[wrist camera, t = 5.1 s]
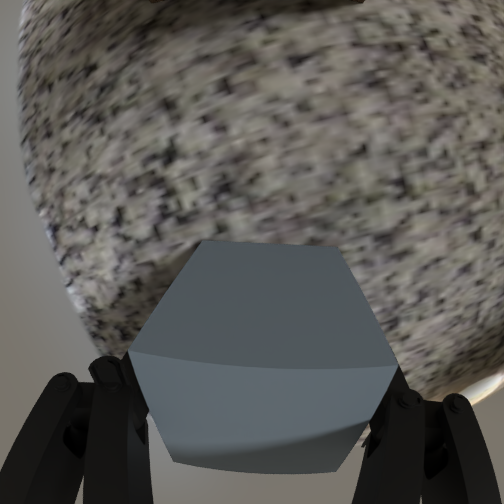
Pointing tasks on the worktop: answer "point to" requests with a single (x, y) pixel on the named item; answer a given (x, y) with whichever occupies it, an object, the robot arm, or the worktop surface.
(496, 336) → the worktop surface
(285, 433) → the grey cube
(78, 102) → the worktop surface
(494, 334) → the worktop surface
